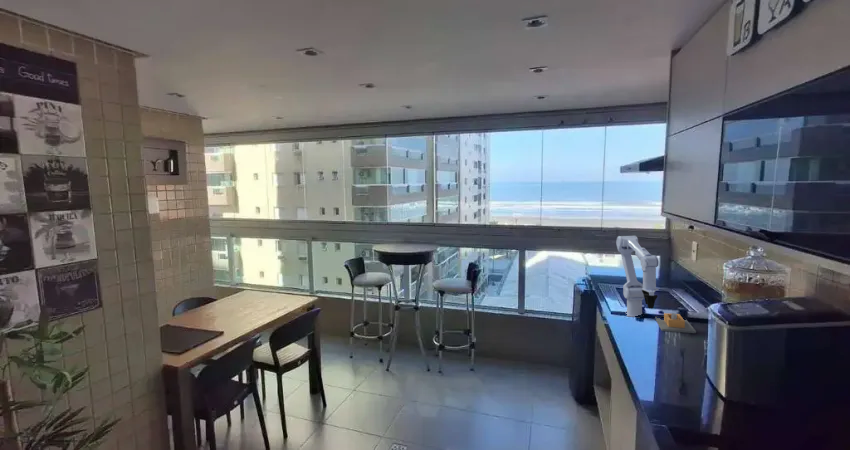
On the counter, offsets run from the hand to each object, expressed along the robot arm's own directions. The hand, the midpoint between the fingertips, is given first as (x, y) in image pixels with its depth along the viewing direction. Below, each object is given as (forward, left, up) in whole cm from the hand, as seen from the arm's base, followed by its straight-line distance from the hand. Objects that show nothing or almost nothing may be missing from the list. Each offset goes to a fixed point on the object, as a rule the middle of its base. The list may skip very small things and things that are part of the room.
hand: (649, 306), depth 201 cm
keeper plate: (-1, +11, -9) cm, 15 cm away
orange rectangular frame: (0, +11, -8) cm, 14 cm away
